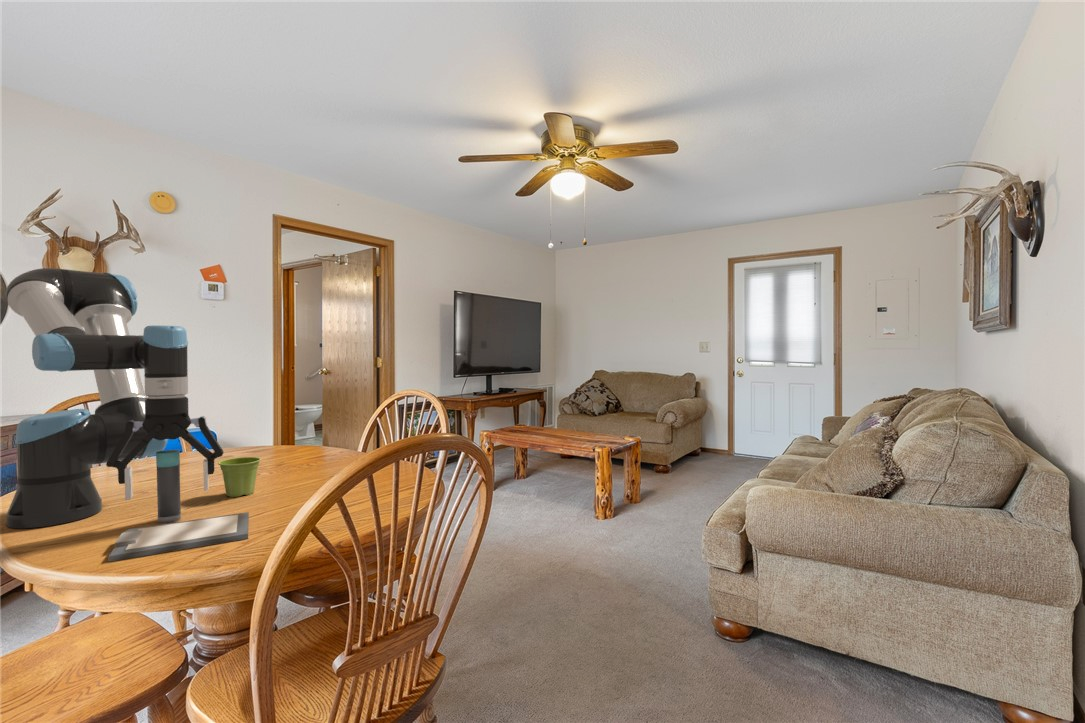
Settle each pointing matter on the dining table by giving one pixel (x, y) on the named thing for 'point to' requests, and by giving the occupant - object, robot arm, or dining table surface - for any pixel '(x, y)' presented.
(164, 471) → the marker
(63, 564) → the dining table surface
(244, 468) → the plant pot
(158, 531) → the clipboard
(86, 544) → the dining table surface
